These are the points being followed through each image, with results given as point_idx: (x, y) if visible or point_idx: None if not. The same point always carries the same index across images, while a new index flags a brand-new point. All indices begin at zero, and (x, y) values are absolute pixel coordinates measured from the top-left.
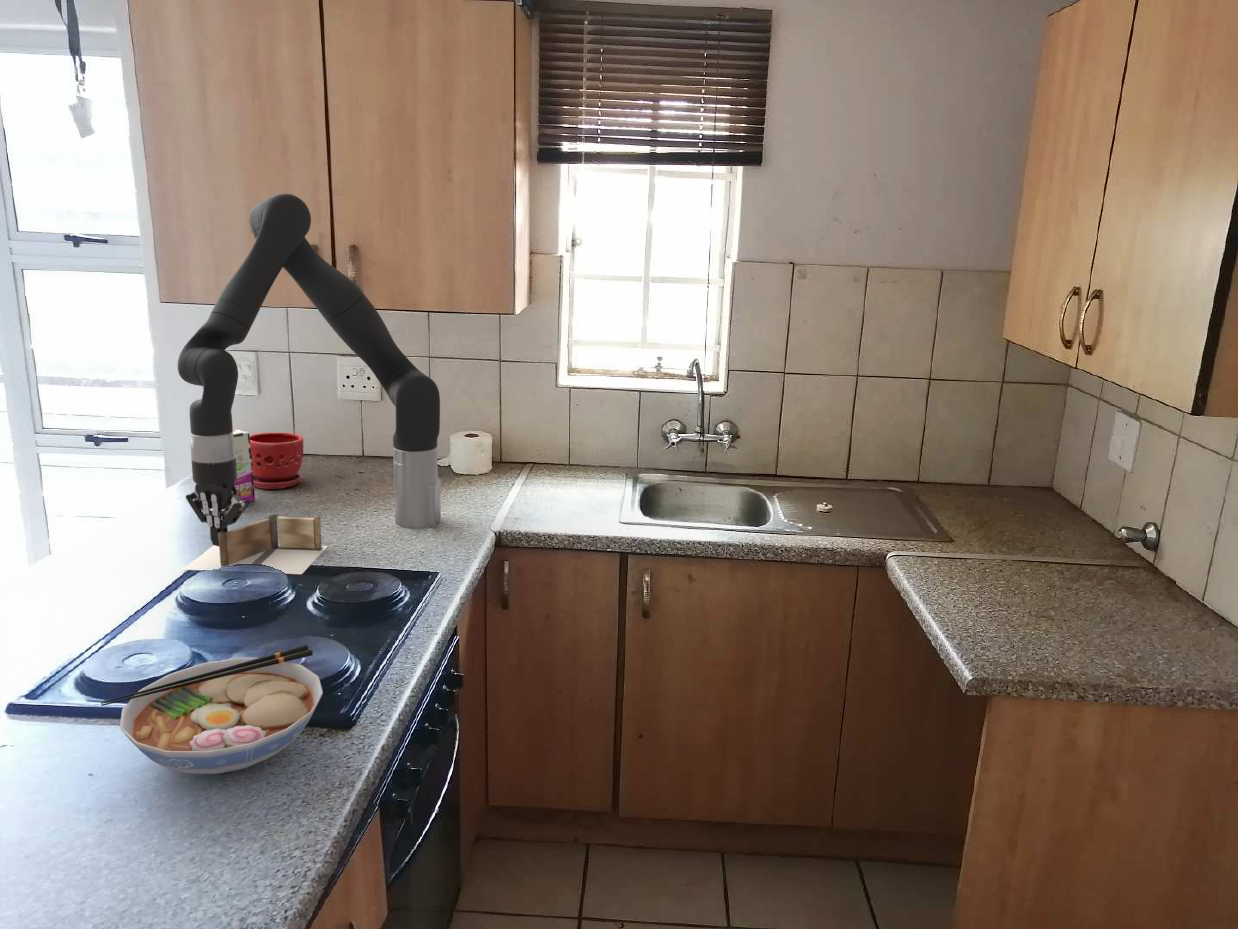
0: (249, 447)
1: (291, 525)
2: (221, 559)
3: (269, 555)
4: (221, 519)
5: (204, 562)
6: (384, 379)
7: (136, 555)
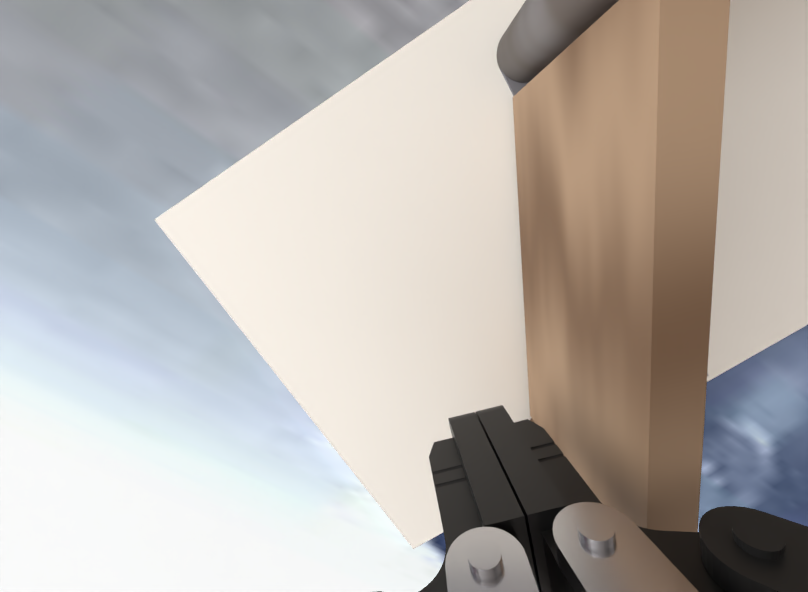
0: None
1: None
2: None
3: None
4: (529, 571)
5: (411, 447)
6: None
7: (48, 567)
